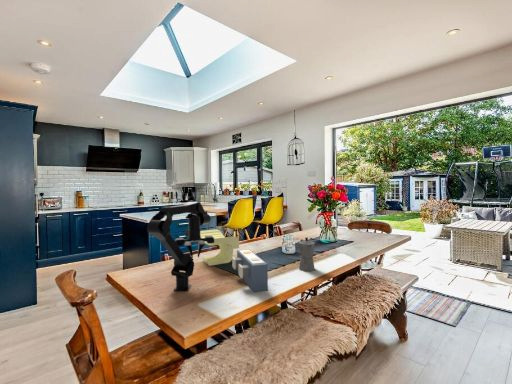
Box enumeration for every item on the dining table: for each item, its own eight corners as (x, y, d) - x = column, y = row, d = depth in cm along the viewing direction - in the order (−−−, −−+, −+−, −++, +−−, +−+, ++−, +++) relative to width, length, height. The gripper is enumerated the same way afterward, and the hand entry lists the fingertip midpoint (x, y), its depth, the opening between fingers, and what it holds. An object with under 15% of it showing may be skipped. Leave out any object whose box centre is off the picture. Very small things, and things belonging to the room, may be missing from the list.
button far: (234, 269, 137) (234, 259, 137) (232, 266, 142) (232, 256, 142) (246, 268, 139) (246, 258, 139) (244, 265, 144) (244, 255, 144)
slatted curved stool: (239, 265, 161) (238, 235, 161) (214, 269, 154) (213, 238, 153) (221, 254, 188) (220, 228, 187) (198, 257, 180) (198, 231, 180)
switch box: (253, 292, 120) (252, 264, 120) (237, 271, 149) (237, 249, 148) (267, 290, 122) (267, 262, 122) (249, 270, 151) (249, 248, 151)
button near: (241, 278, 124) (241, 267, 124) (238, 274, 129) (238, 264, 129) (254, 276, 126) (254, 265, 126) (251, 273, 131) (251, 262, 131)
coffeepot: (319, 271, 147) (319, 239, 146) (303, 273, 145) (303, 240, 144) (308, 264, 162) (308, 234, 161) (293, 265, 160) (293, 235, 159)
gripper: (210, 223, 145) (211, 252, 145) (174, 225, 139) (175, 255, 140) (214, 226, 134) (214, 257, 135) (175, 229, 128) (175, 261, 129)
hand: (195, 257), depth 135 cm, fingers open, 3 cm apart
